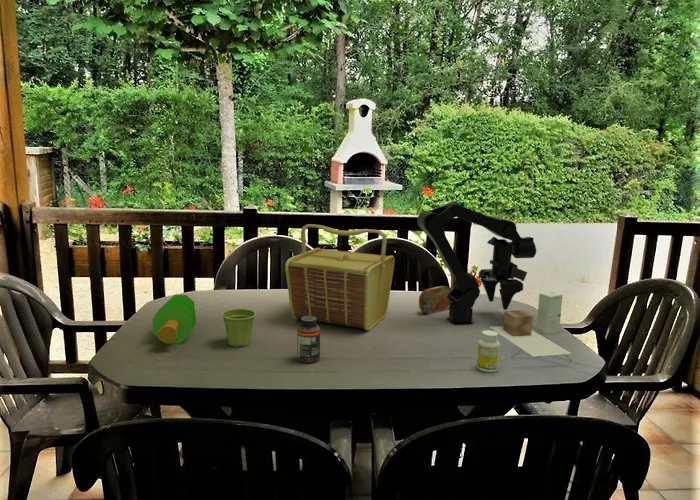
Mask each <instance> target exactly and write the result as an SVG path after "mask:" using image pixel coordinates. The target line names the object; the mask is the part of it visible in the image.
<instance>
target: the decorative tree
mask: <svg viewBox="0 0 700 500" xmlns="http://www.w3.org/2000/svg"><path fill="white" fill-rule="evenodd" d="M195 308H196V307H195V301H194V300H193V299H191V298H190V297H189V296H188V295H187V294H174V295H173V296H172V297H170V299H169V300H167V301H166V302H165V303H164V304H163V305H162V306H161V307H160V308H159V309H158V311H157V312H156V313H155V315H154V316H153V318H152V334H153V335H154V336H155V337H156V338H158V340H159V341H160V342H162V343H164V344H165V345H166V344H170V345H171V344H182V343H183V342H184V341H185V340H186V339H187V338H189V336H190V335H192V333H193V329H194V327H195V325H196V324H197V322H196V321H197V318H196V309H195Z"/></svg>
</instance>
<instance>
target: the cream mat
mask: <svg viewBox="0 0 700 500" xmlns="http://www.w3.org/2000/svg"><path fill="white" fill-rule="evenodd" d="M503 327H504V325H498V326H495V325H494V326H489V328H490V329H492V331H495V332H497V333H498V335H500V336H502V337H503V338H505V339H506V340H508V341H509V342H511V343H512V344H514V345H516V347H518V348H520V349H521V350H523V351H524V352H525V353H527V354H528V355H530V356H531V357H533V358H534V357H544V356H546V357H547V356H560V355H572V352H570V351H568V350H567V349H565V348H563V347H561V346H560V345H558V344H556V343H555V342H553V341H551V340H550V339H548V338H546V337H545V336H543V335H541V334H539V333H538V332H537V331H536V330H535V331H534V330H533V329H532V333H531V335H527V336H512V335H510V334H509V333H507V332H506V331H504V330H503Z"/></svg>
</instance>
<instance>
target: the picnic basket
mask: <svg viewBox="0 0 700 500" xmlns="http://www.w3.org/2000/svg"><path fill="white" fill-rule="evenodd" d="M308 228H315V229H321V230H323V231H325V232H327V233H330V234H333V235H337V236H342V237H343V236H345V237H346V236H347V237H348V236H359V235H362V234H365V233H370V234H371V233H372V234H379V235H380V236H381V237H382V242H381V250H380V251H381V252H380V254H374V253H366V252H365V253H363V252H355V251H345V250H344V251H343V250H336V249H335V250H334V249H327V248H320V247H316V248H312V249H311V250H308V251H307V244H306V230H307V229H308ZM300 238H301V239H300V240H301V253H300V254H297V255H295V256H291V257H289V258H288V259H287V260H286V262H285V266H284V268H285V276H286V283H287V284H286V285H287V292H288V299H289V300H288V301H289V305H290V306H289V307H290V313H291V316H292V318H293V319H295V320H299V319H300V320H301V318H302V317H304V316H313V317H316V322H319V323H325V324H332V325H338V326H339V325H340V326H344V327H351V328H358V329H363V330H365V331H371V329H372V328H374V327H375V326H376V325H377V324H378V323H379V322H381V321H382V320H383V319H384V318H385V316H386V315H387V311H388V309H389V301H390V295H391V287H392V283H393V276H394V270H395V259H396V258H395V256H394V255H392V254H391V255H386V251H387V242H388V239H387V235H386V233H385V232H383V231H382V230H378V229H369V228H363V229H353V230H341V229H335V228H332V227H329V226H325V225H323V224H322V225H321V224H314V223H312V224H311V223H309V224H305V225H304V226H302V227H301V231H300Z"/></svg>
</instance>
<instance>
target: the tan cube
mask: <svg viewBox="0 0 700 500" xmlns="http://www.w3.org/2000/svg"><path fill="white" fill-rule="evenodd" d="M503 315H504V317H503V326H504V327H503V330H504V331H506V332H507V333H509V334H510V335H512V336H527V335H531V333H532V330H533V321H534V316H533V315H532V314H529V313H528V312H526V311H524V310H523V309H522V310H521V309H520V310H504V314H503Z"/></svg>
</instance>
